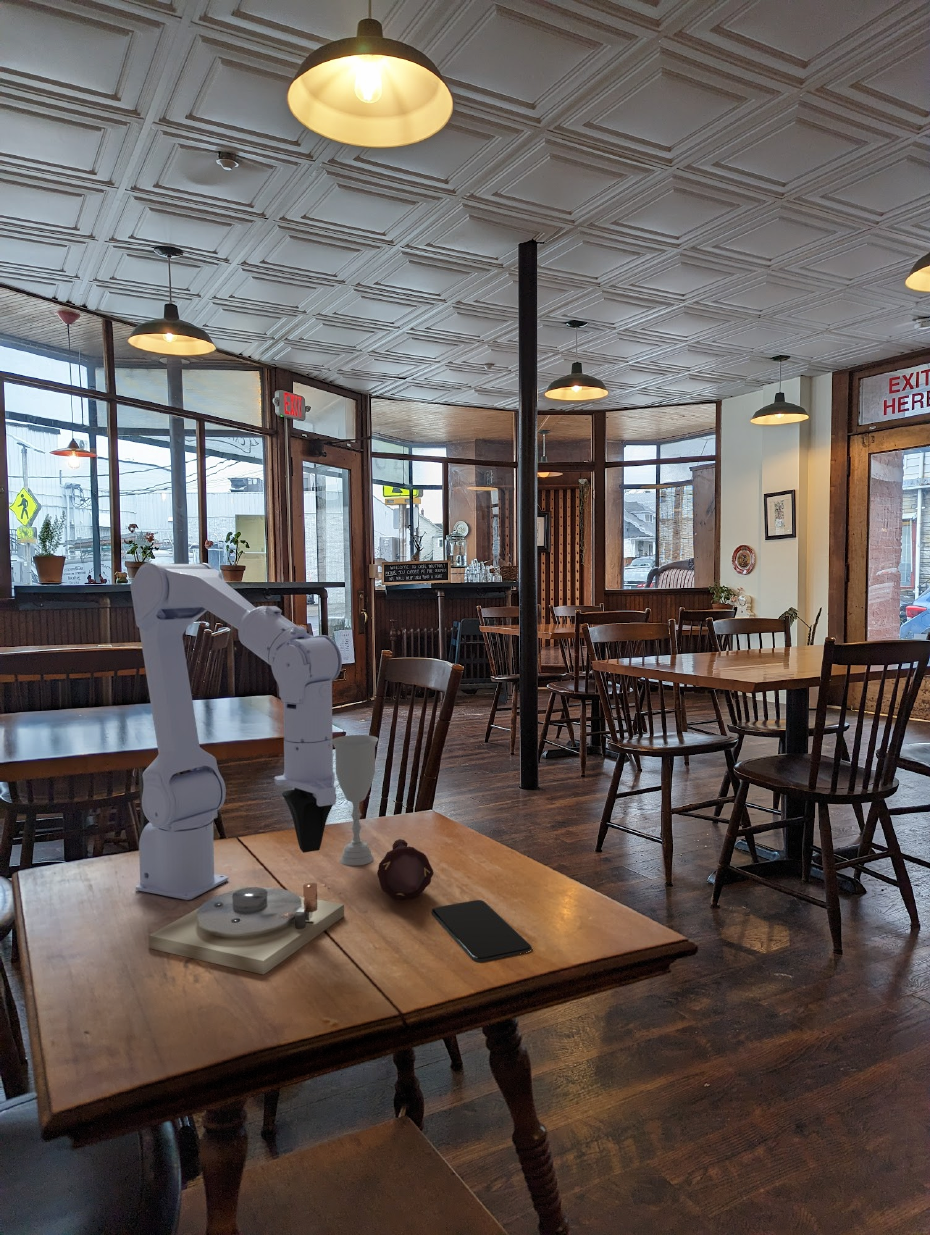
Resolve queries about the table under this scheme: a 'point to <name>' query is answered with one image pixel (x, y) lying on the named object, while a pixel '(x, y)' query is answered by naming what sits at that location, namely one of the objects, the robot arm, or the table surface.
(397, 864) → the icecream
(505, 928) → the smartphone
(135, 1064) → the table surface
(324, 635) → the robot arm
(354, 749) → the chalice
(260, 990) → the table surface
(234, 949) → the post base
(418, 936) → the table surface
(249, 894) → the grey turntable
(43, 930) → the table surface
